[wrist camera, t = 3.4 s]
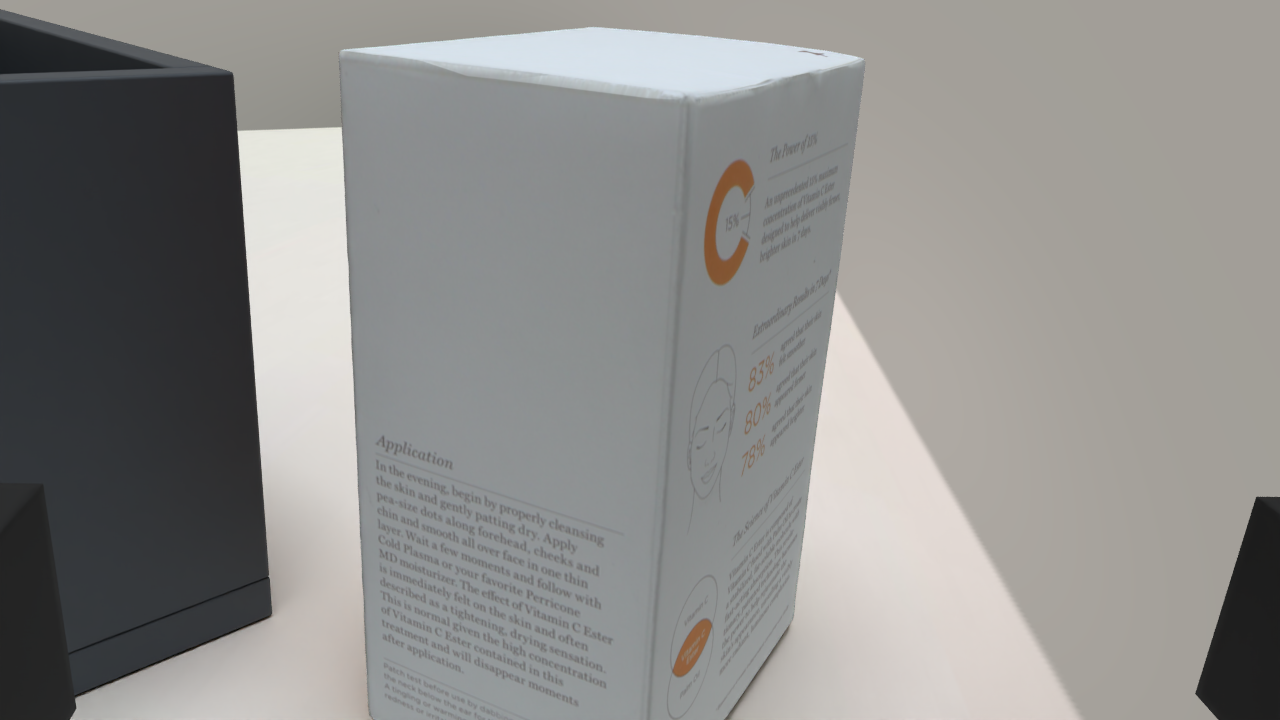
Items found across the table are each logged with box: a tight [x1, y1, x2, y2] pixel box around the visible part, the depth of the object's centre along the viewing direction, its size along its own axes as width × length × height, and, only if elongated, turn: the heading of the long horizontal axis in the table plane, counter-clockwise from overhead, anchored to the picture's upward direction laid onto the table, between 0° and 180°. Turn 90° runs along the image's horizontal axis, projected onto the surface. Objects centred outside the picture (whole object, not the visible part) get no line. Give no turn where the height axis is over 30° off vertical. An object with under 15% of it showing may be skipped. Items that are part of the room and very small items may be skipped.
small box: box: [339, 27, 865, 720], centre depth 21 cm, size 8×6×13 cm
